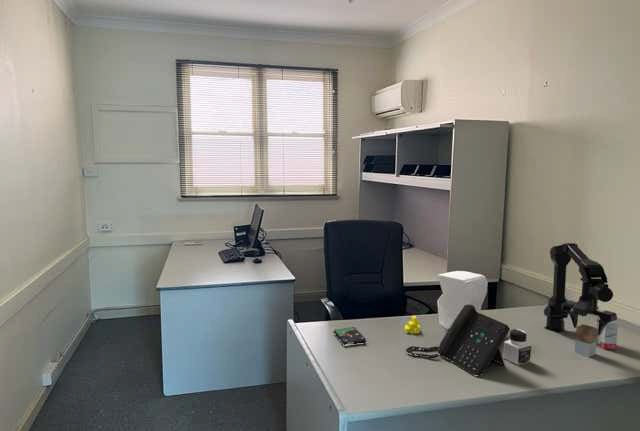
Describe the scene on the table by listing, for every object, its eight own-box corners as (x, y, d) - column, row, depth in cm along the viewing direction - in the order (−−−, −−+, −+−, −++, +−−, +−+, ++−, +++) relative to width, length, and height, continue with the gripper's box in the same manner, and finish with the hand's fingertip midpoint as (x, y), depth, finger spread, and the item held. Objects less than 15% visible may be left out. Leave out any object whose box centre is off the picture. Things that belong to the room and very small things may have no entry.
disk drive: (366, 345, 185) (354, 332, 199) (366, 339, 185) (354, 326, 199) (343, 348, 182) (332, 334, 196) (344, 341, 182) (333, 328, 196)
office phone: (402, 351, 179) (403, 304, 176) (455, 340, 190) (457, 296, 188) (451, 384, 152) (453, 329, 150) (509, 368, 164) (512, 317, 162)
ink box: (616, 350, 180) (619, 323, 179) (603, 349, 181) (605, 322, 180) (607, 342, 188) (609, 316, 187) (594, 341, 189) (597, 315, 188)
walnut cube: (575, 339, 178) (576, 326, 177) (582, 336, 181) (583, 324, 180) (589, 344, 173) (590, 331, 172) (596, 341, 176) (597, 328, 175)
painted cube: (574, 352, 178) (575, 339, 178) (581, 349, 181) (582, 336, 181) (588, 357, 174) (589, 344, 173) (595, 354, 177) (596, 341, 176)
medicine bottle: (518, 365, 166) (520, 335, 165) (502, 358, 172) (504, 329, 171) (530, 361, 169) (532, 332, 168) (514, 354, 176) (516, 326, 174)
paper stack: (427, 324, 208) (429, 272, 205) (468, 315, 221) (470, 266, 218) (461, 340, 190) (463, 283, 187) (502, 329, 202) (505, 276, 199)
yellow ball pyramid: (401, 331, 200) (401, 314, 199) (415, 328, 204) (415, 312, 203) (409, 335, 195) (409, 319, 194) (423, 332, 198) (423, 316, 198)
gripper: (555, 291, 178) (553, 327, 180) (605, 303, 162) (601, 343, 164) (570, 287, 184) (567, 322, 186) (619, 299, 168) (615, 337, 170)
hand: (586, 331), depth 176 cm, fingers open, 9 cm apart
